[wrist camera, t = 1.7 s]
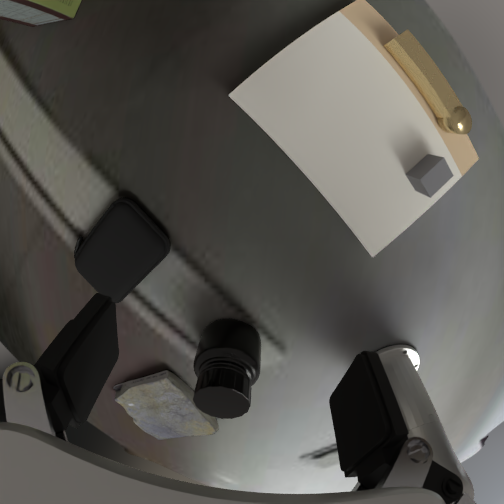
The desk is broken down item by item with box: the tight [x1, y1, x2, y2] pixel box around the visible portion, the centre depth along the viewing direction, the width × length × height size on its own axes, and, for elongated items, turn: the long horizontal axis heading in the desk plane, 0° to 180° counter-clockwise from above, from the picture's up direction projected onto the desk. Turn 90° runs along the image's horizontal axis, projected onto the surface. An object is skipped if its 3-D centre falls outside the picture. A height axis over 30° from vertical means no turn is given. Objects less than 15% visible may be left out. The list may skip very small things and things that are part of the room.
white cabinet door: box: [228, 0, 479, 258], centre depth 25 cm, size 24×20×6 cm
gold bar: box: [384, 30, 472, 135], centre depth 21 cm, size 13×3×3 cm, turn 43°
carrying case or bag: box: [74, 198, 170, 303], centre depth 35 cm, size 11×3×15 cm
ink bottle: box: [193, 319, 261, 419], centre depth 35 cm, size 10×9×12 cm
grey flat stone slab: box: [114, 370, 219, 440], centre depth 48 cm, size 20×5×17 cm
